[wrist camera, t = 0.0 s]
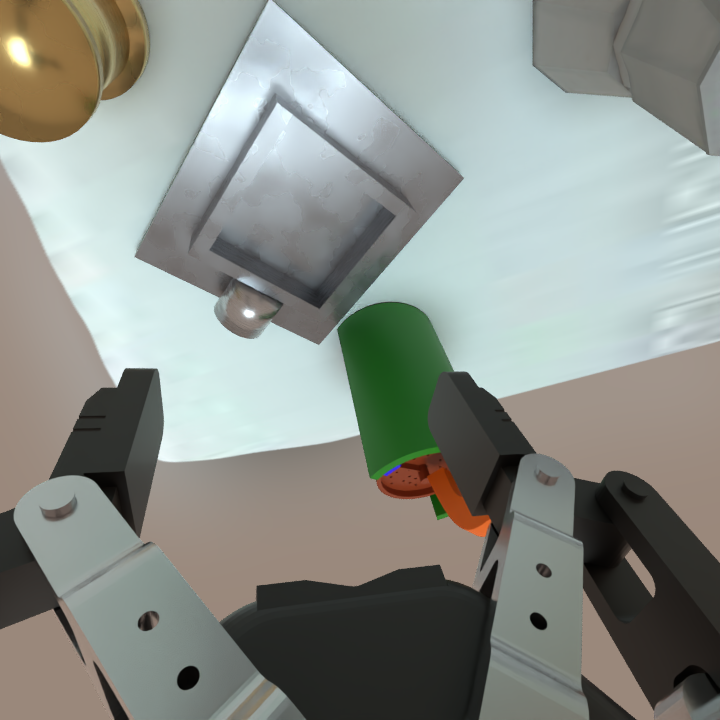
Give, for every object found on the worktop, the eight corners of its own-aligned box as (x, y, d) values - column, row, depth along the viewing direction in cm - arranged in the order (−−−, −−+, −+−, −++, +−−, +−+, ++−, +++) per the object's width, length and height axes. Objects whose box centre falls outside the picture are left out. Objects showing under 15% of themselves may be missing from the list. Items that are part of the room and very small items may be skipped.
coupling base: (269, -3, 24) (273, 4, 20) (459, 173, 32) (485, 200, 29) (137, 249, 32) (122, 287, 28) (317, 337, 40) (324, 375, 37)
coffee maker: (475, 28, 27) (696, 96, 13) (585, -165, 22) (1079, -345, 9) (620, 145, 33) (861, 267, 20) (727, 17, 29) (1129, 66, 16)
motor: (316, 351, 41) (353, 564, 27) (377, 282, 37) (458, 488, 23) (394, 388, 47) (459, 581, 32) (454, 331, 43) (559, 522, 28)
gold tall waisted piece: (30, -100, 20) (-98, -133, 13) (169, 11, 23) (133, 36, 16) (-6, 37, 23) (-128, 75, 15) (123, 118, 26) (74, 181, 19)
